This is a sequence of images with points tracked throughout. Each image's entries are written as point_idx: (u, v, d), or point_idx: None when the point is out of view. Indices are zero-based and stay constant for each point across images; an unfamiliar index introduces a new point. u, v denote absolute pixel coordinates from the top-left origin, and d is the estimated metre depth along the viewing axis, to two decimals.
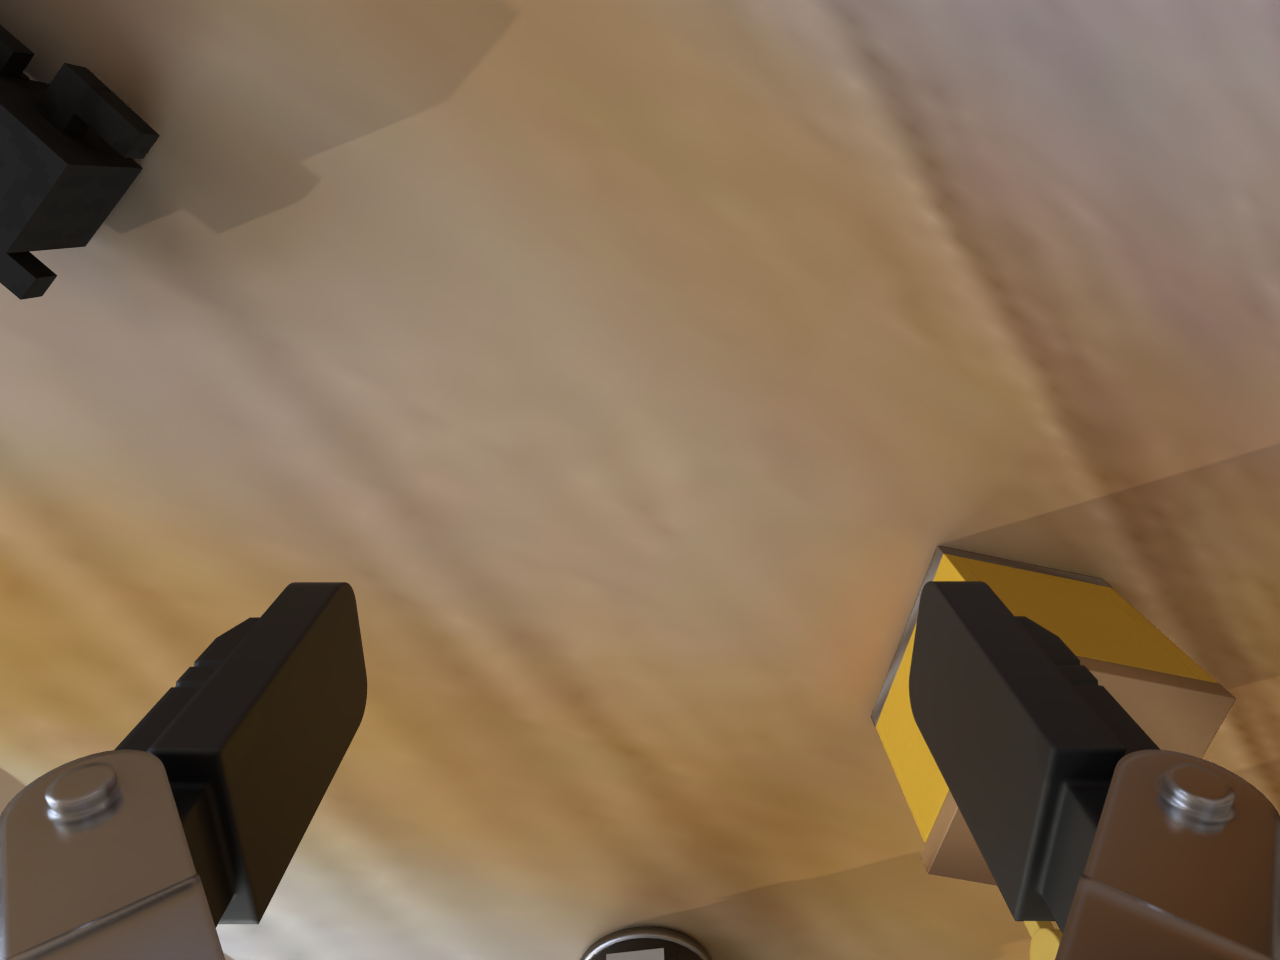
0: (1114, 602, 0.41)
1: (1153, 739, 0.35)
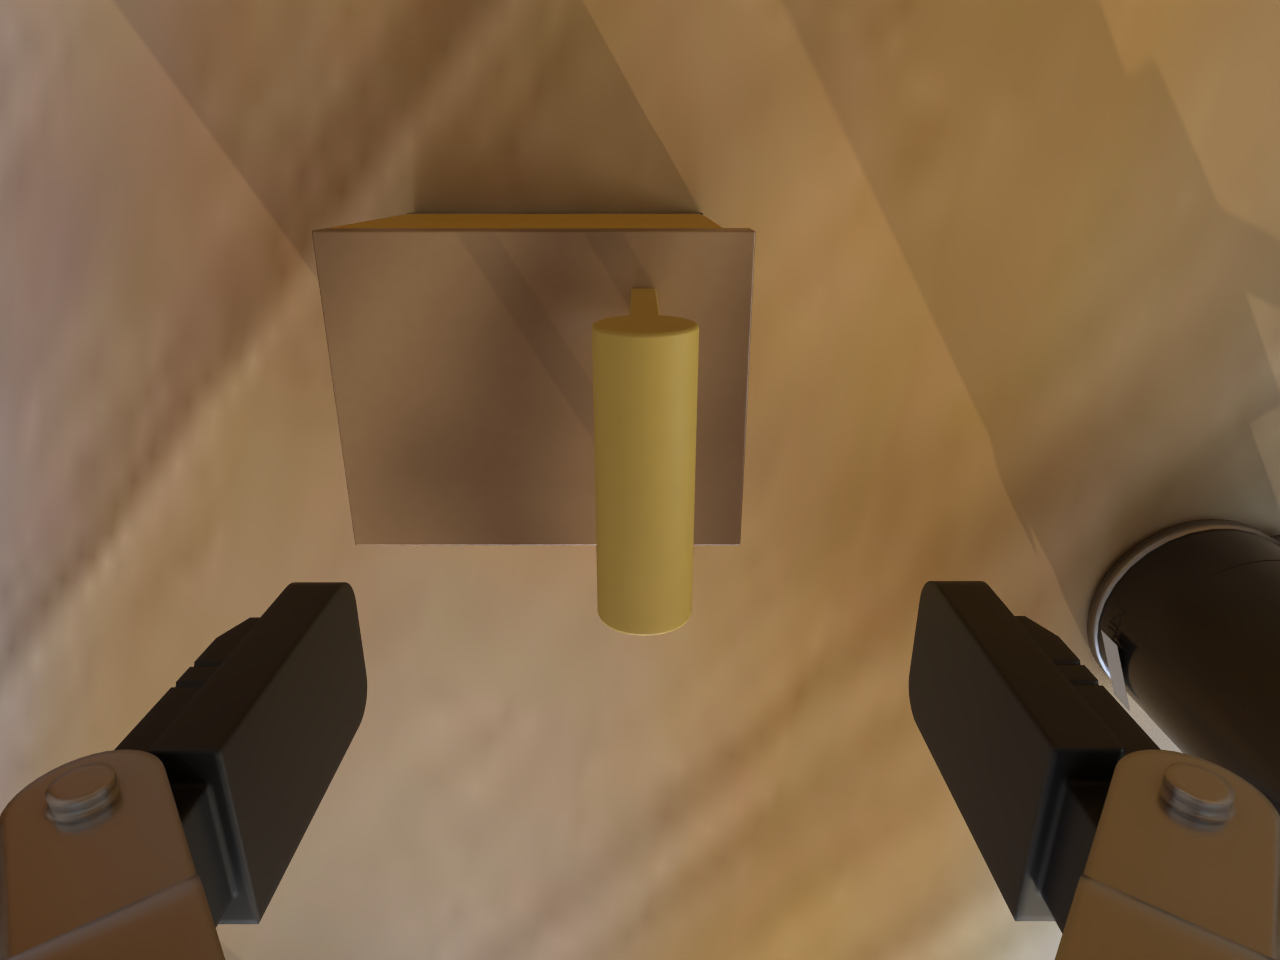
0: None
1: (420, 323, 0.23)
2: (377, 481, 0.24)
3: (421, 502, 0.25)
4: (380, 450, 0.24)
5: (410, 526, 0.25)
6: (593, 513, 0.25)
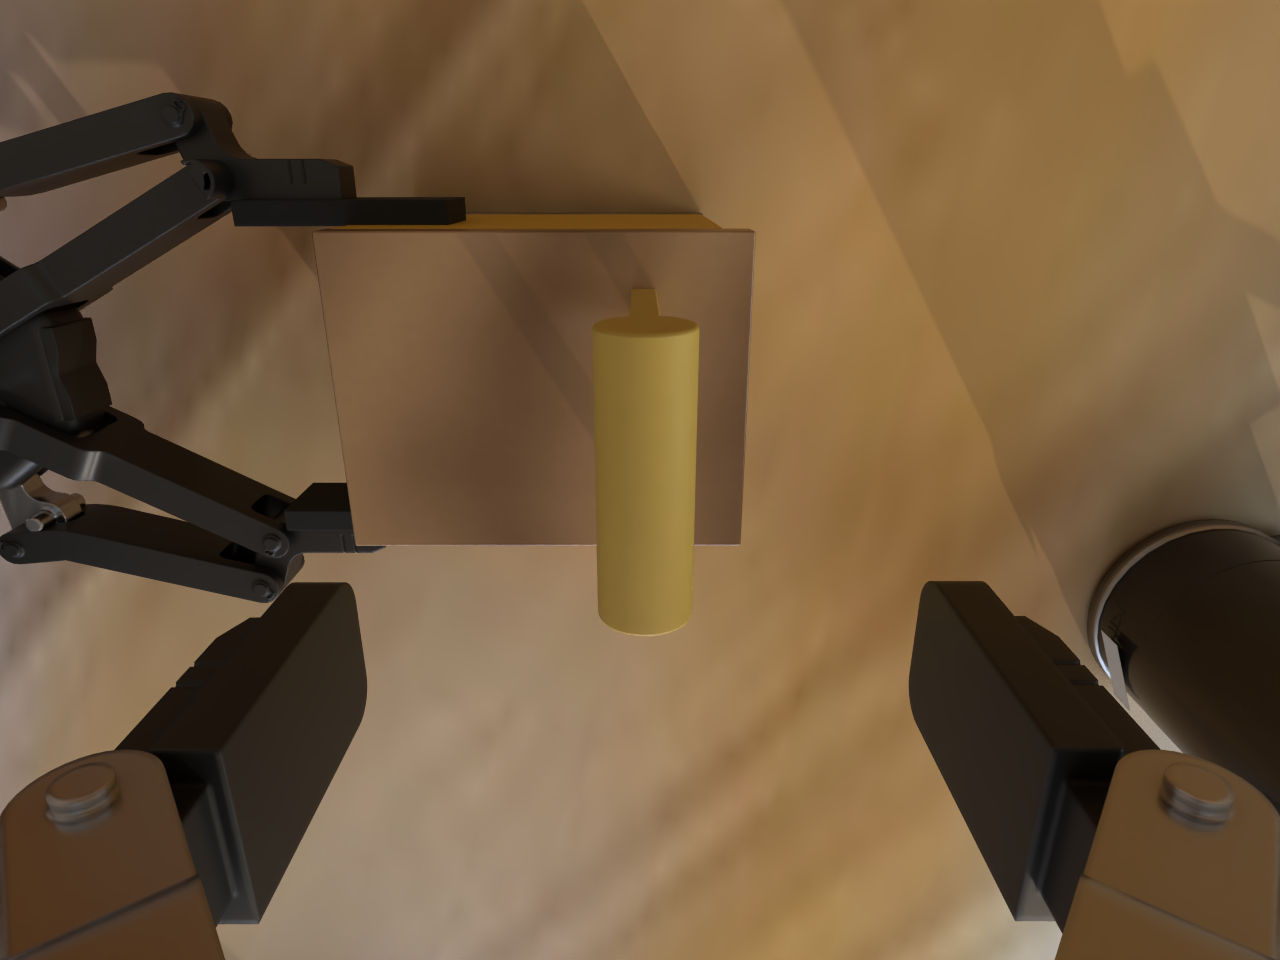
0: None
1: (420, 323, 0.23)
2: (377, 481, 0.24)
3: (421, 502, 0.25)
4: (380, 450, 0.24)
5: (410, 527, 0.25)
6: (594, 513, 0.25)
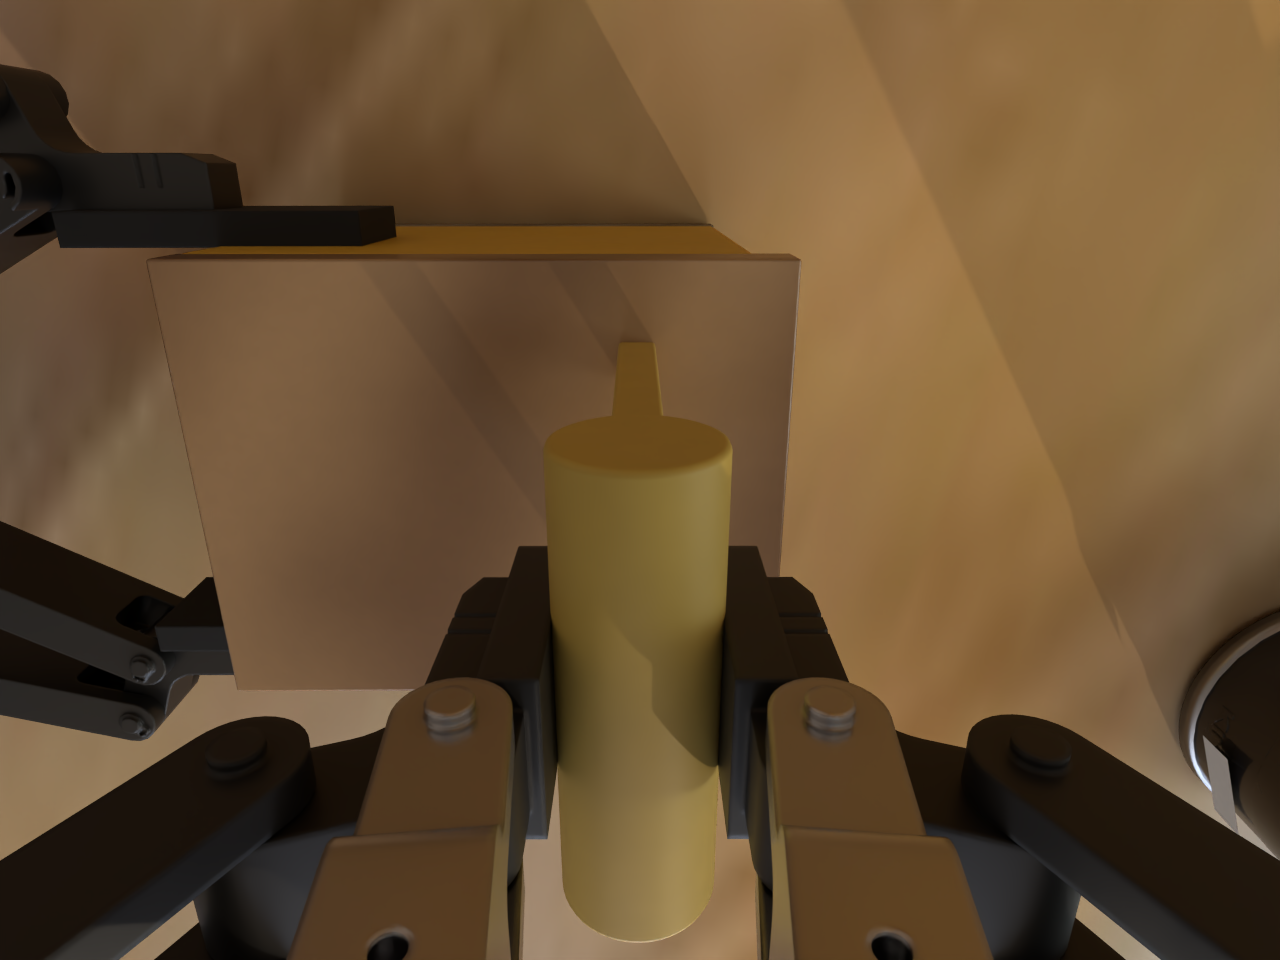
0: None
1: (312, 392, 0.16)
2: (263, 607, 0.17)
3: (326, 635, 0.18)
4: (266, 565, 0.17)
5: (313, 666, 0.18)
6: None
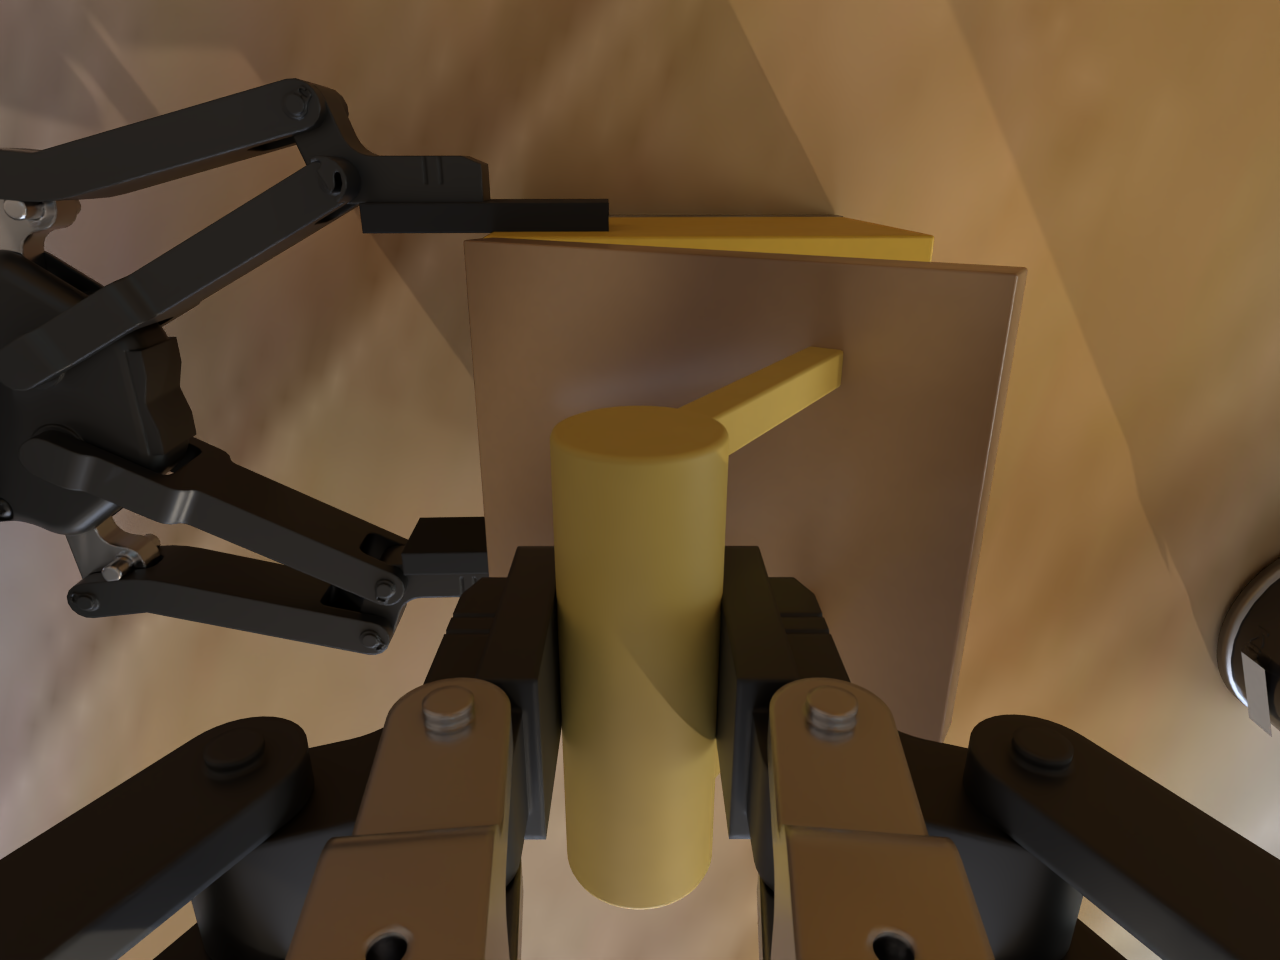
0: None
1: (558, 359, 0.18)
2: (511, 532, 0.21)
3: None
4: (515, 498, 0.21)
5: None
6: None
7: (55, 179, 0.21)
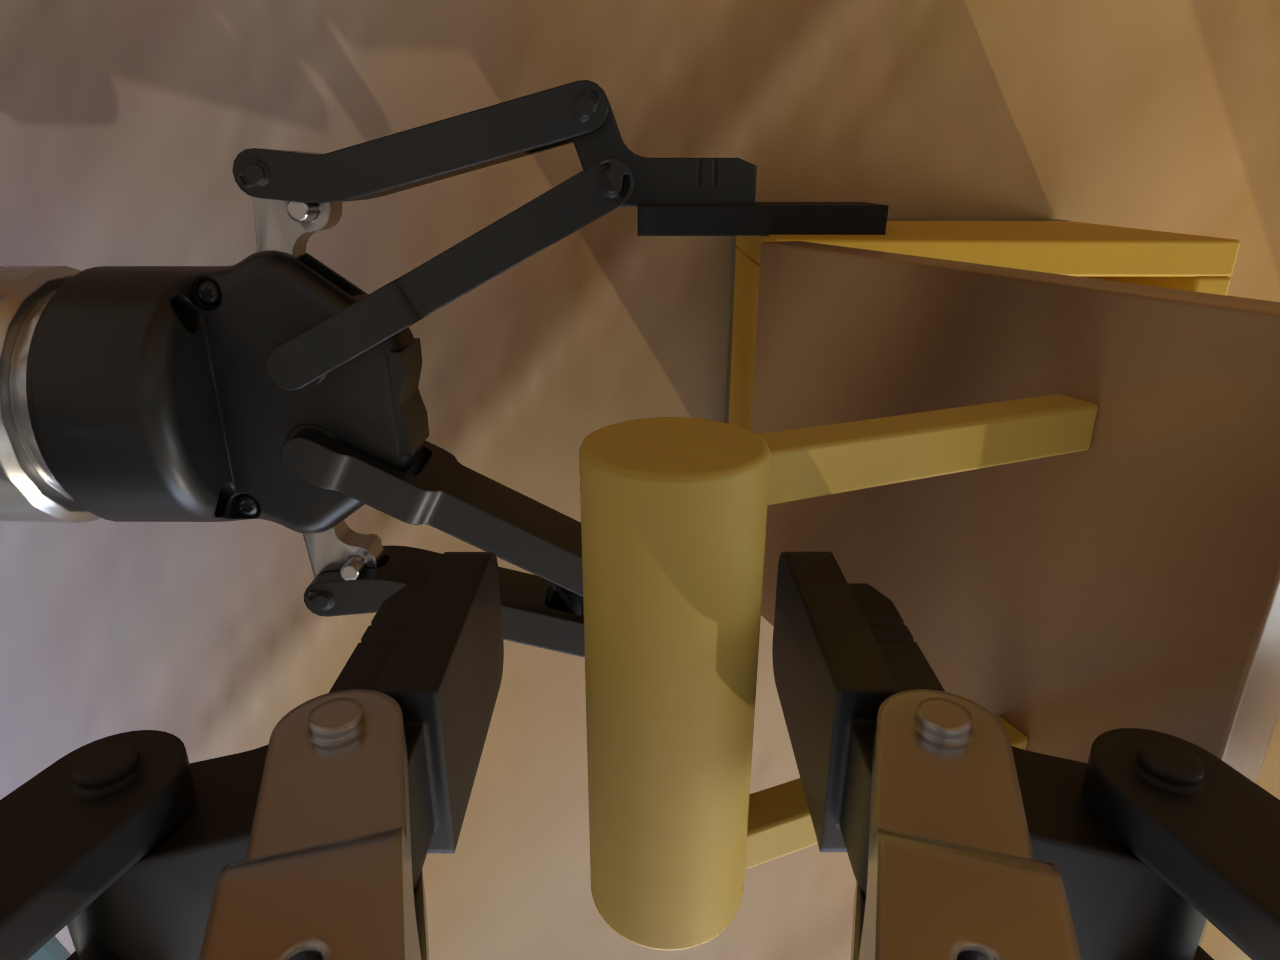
0: (742, 256, 0.26)
1: (819, 371, 0.17)
2: None
3: None
4: (770, 507, 0.20)
5: None
6: None
7: (340, 180, 0.21)
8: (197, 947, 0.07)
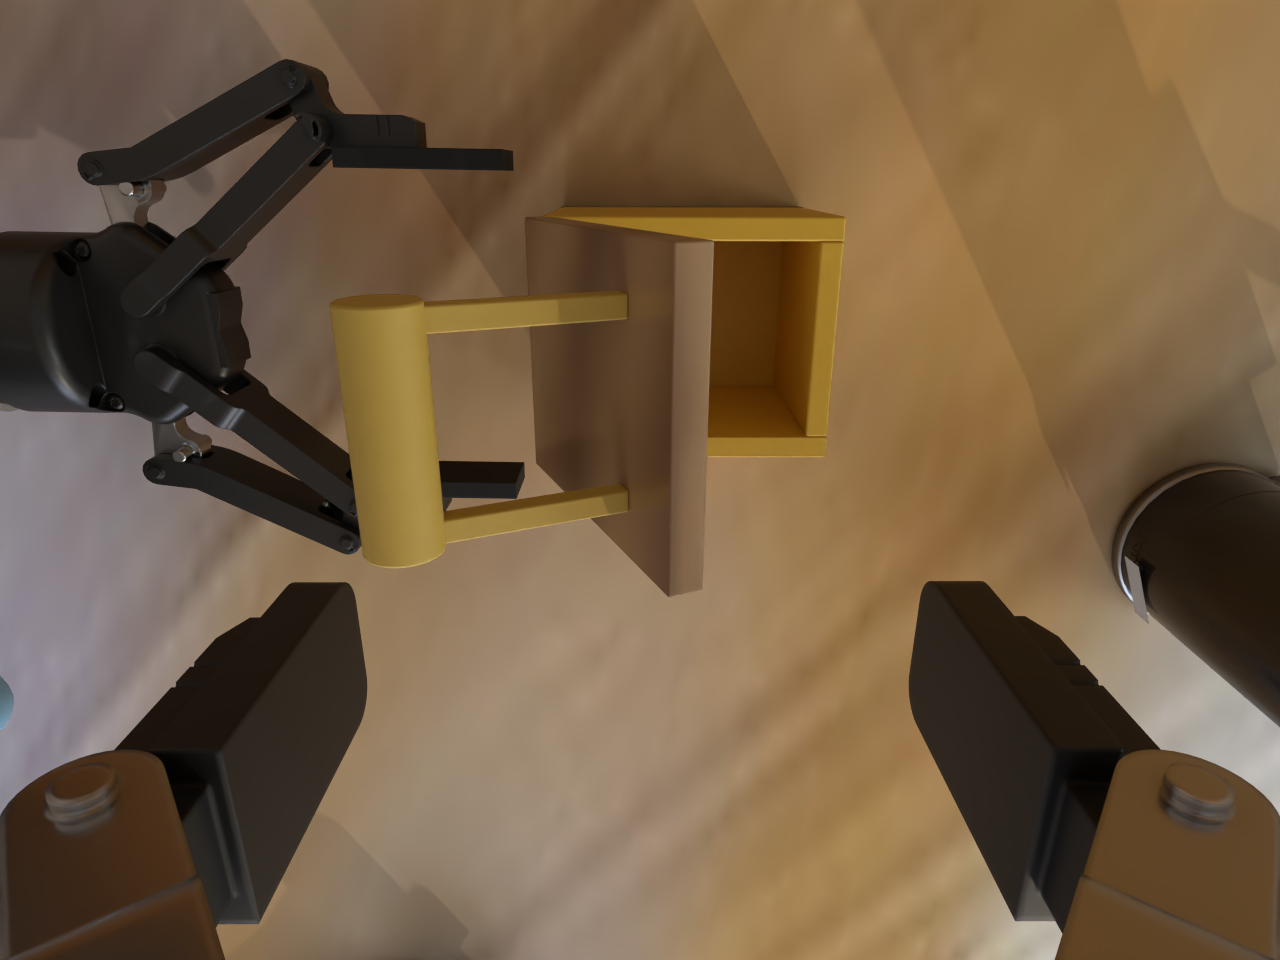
0: None
1: None
2: (540, 418, 0.31)
3: (552, 444, 0.30)
4: (541, 394, 0.30)
5: (549, 461, 0.31)
6: None
7: (147, 162, 0.31)
8: None
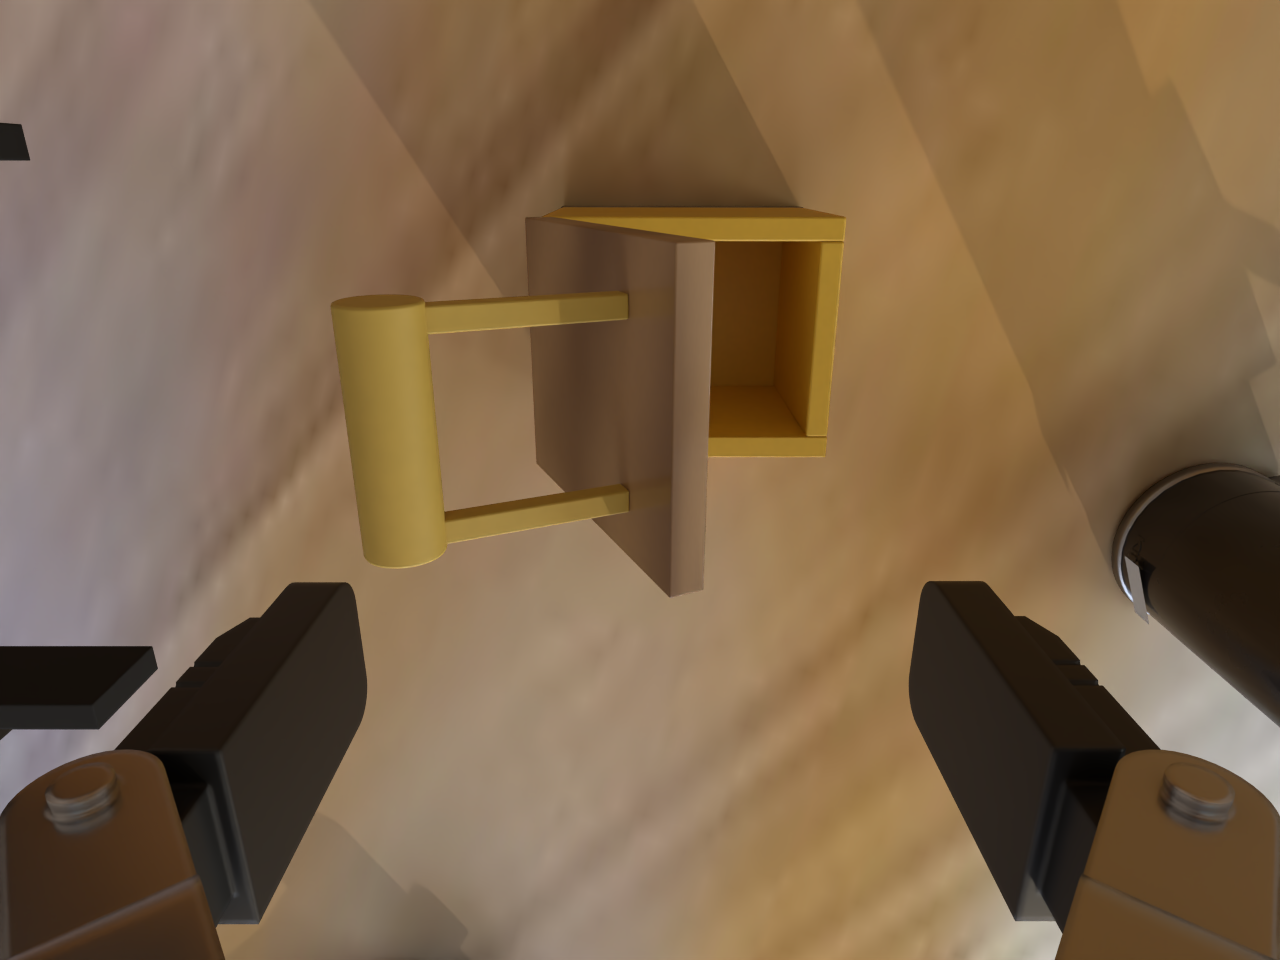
0: None
1: None
2: (541, 418, 0.31)
3: (552, 445, 0.30)
4: (542, 394, 0.30)
5: (550, 461, 0.31)
6: None
7: None
8: None
